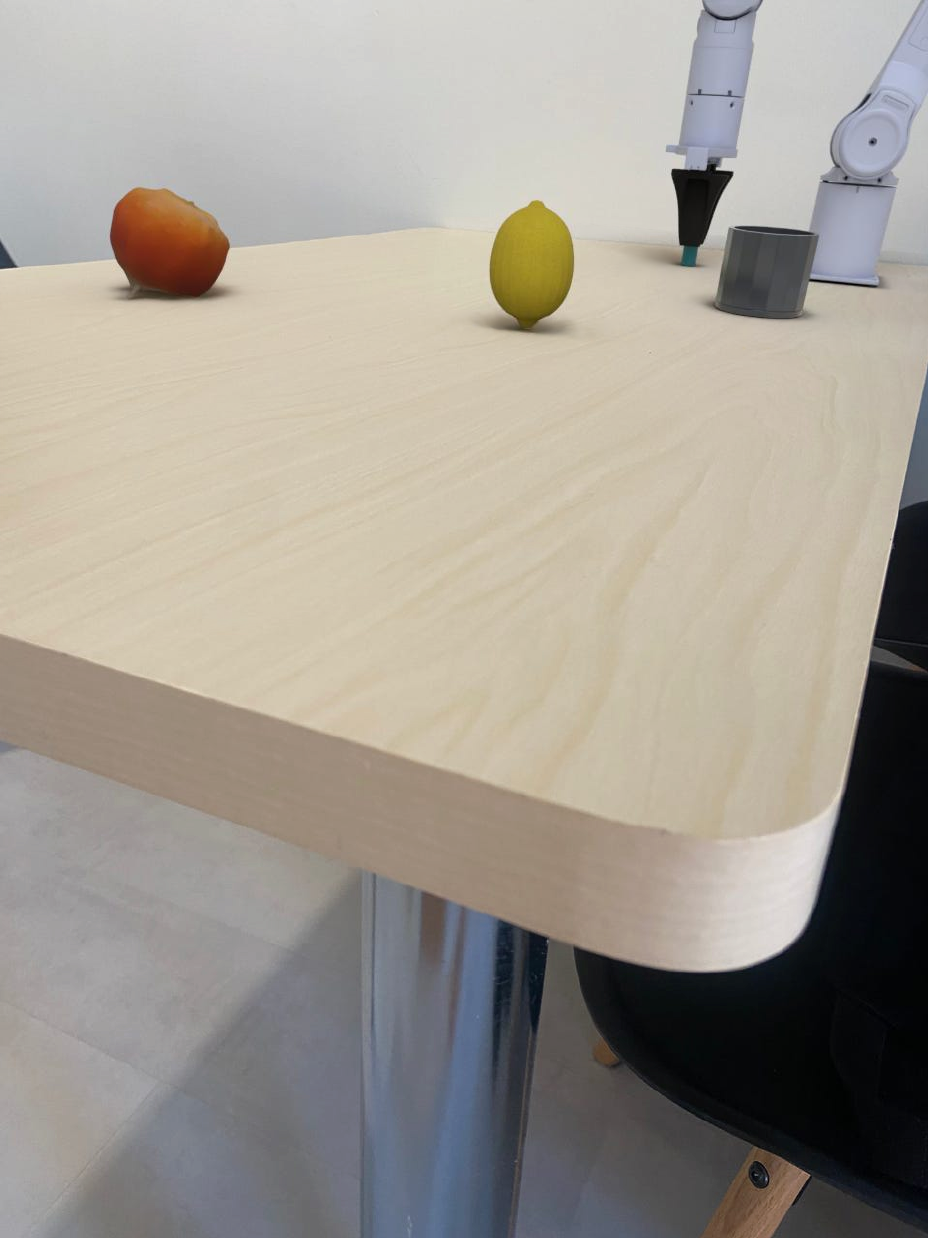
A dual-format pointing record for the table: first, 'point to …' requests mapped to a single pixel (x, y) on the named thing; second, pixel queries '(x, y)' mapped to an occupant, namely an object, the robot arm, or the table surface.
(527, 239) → the lemon
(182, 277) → the fruit
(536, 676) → the table surface
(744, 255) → the tumbler
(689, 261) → the teal rectangular block
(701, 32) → the robot arm
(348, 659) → the table surface
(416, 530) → the table surface
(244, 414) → the table surface
